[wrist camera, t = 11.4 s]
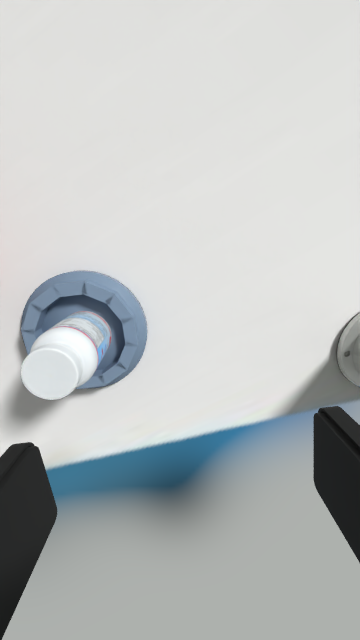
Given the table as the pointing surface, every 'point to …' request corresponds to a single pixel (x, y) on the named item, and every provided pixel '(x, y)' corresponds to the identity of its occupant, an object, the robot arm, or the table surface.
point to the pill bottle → (66, 355)
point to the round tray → (97, 297)
